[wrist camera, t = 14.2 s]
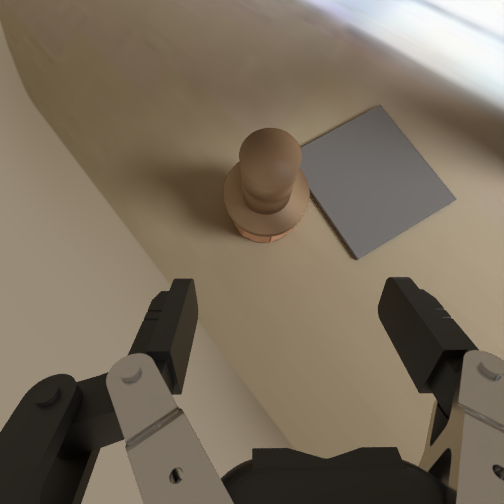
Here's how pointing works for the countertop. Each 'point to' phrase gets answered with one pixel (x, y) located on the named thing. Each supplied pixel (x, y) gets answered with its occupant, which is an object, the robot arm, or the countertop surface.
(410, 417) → the countertop surface
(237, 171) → the walnut lid
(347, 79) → the countertop surface
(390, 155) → the rubber mat
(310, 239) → the countertop surface
